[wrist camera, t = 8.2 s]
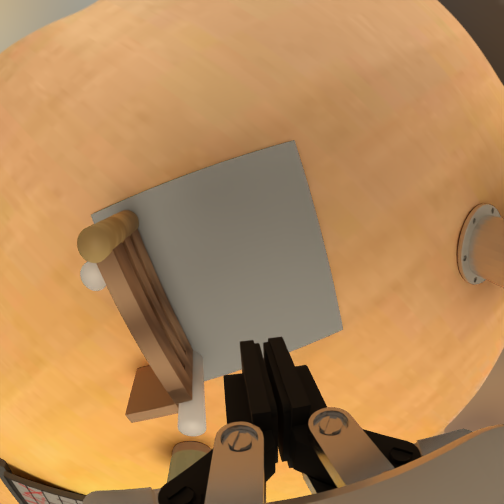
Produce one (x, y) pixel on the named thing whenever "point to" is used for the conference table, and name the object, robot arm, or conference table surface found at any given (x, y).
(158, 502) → the robot arm
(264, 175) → the grey board
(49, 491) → the shutter
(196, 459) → the coffee cup
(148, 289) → the gate
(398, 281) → the conference table surface
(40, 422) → the conference table surface
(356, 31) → the conference table surface
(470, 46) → the conference table surface
